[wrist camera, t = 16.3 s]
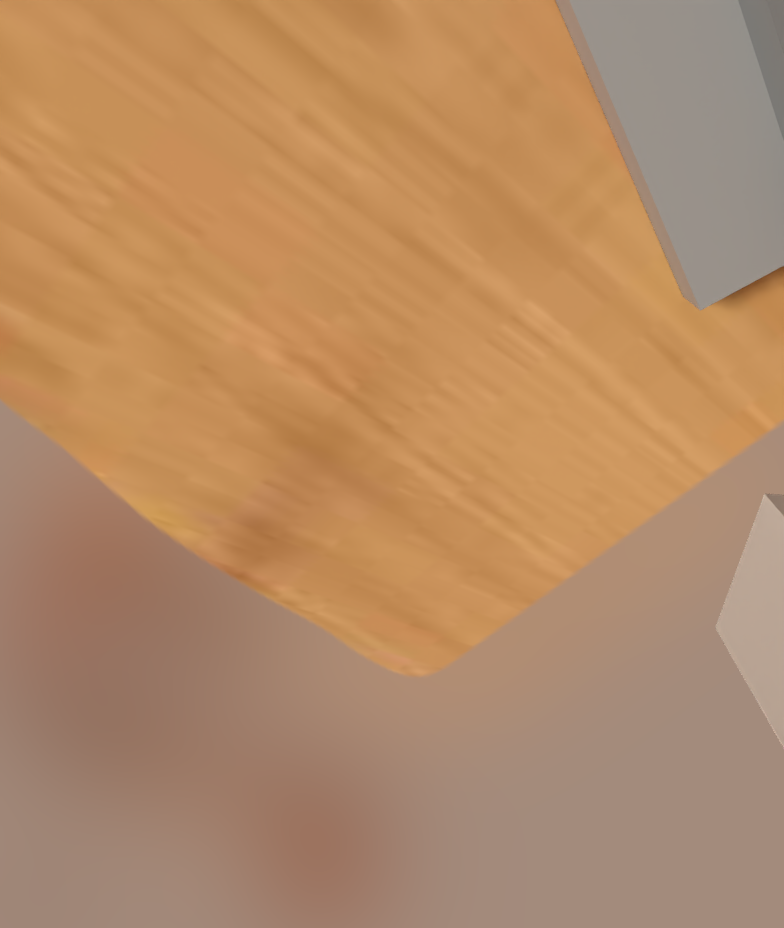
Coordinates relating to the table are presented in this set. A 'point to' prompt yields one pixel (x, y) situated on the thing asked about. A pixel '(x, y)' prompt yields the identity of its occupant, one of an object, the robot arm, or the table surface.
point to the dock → (696, 127)
